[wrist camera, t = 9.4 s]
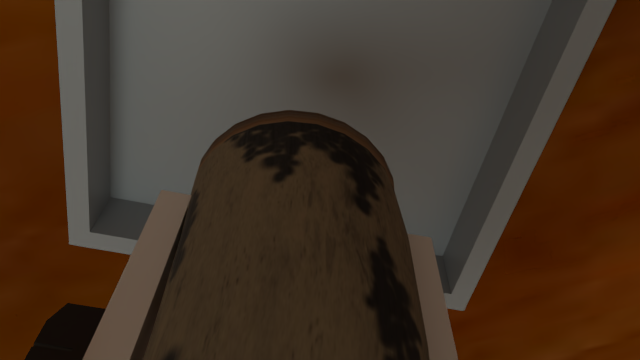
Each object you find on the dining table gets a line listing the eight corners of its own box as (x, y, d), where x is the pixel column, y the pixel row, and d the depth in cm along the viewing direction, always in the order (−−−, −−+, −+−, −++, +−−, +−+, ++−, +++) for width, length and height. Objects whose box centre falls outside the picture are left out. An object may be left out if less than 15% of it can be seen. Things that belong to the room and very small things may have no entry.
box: (627, -127, 21) (674, -117, 18) (452, 265, 32) (463, 311, 29) (84, -260, 19) (38, -273, 16) (95, 202, 30) (69, 244, 27)
